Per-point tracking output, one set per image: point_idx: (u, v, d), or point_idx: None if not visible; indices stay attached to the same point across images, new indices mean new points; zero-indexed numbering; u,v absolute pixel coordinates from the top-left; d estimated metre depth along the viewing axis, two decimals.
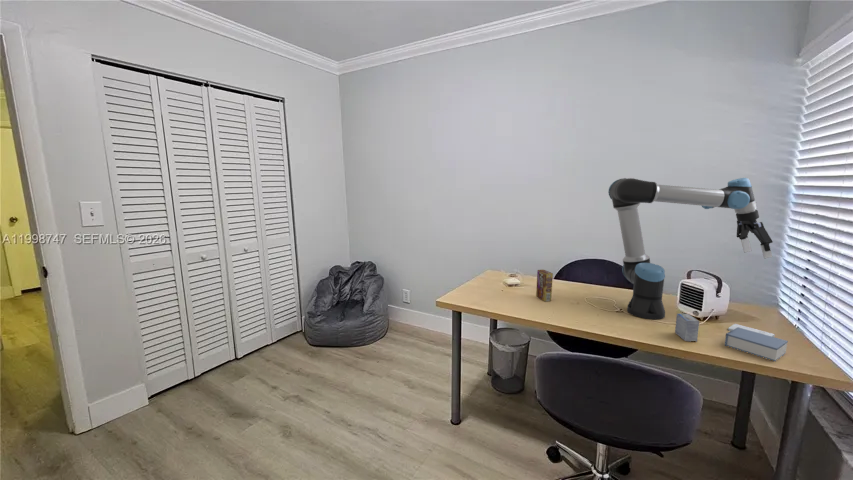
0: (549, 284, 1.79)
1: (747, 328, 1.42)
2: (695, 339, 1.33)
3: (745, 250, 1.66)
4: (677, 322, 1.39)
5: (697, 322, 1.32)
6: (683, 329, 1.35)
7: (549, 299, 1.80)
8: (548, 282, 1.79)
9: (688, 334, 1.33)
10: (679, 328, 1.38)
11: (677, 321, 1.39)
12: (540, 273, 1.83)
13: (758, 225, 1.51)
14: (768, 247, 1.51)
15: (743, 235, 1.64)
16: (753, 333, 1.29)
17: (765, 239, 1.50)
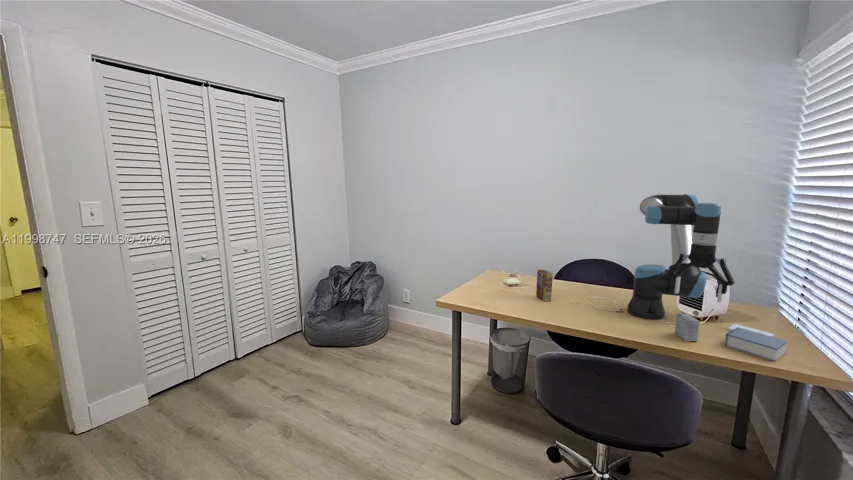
0: (549, 284, 1.79)
1: (747, 328, 1.42)
2: (695, 339, 1.33)
3: None
4: (677, 322, 1.39)
5: (697, 322, 1.32)
6: (683, 329, 1.35)
7: (549, 299, 1.80)
8: (548, 282, 1.79)
9: (688, 334, 1.33)
10: (679, 328, 1.38)
11: (677, 321, 1.39)
12: (540, 273, 1.83)
13: None
14: None
15: None
16: (753, 333, 1.29)
17: None
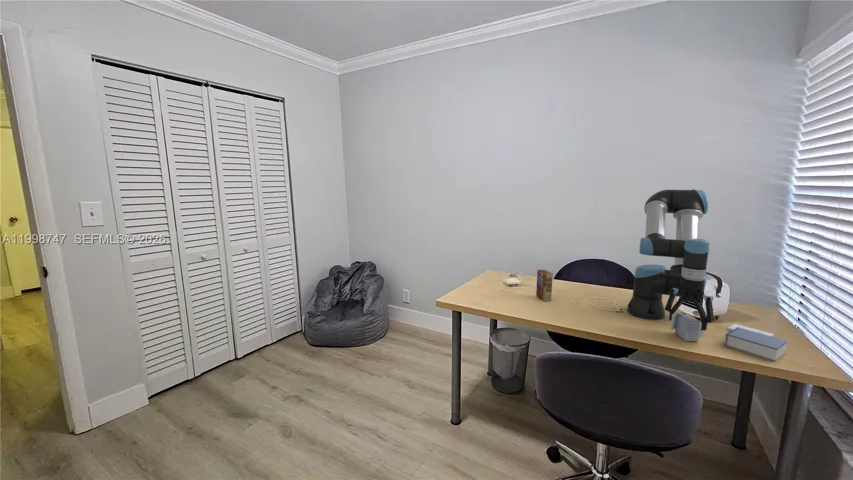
0: (549, 284, 1.79)
1: (747, 328, 1.42)
2: (695, 339, 1.33)
3: None
4: (677, 322, 1.39)
5: (697, 322, 1.32)
6: (683, 328, 1.35)
7: (549, 299, 1.80)
8: (548, 282, 1.79)
9: (688, 334, 1.33)
10: (679, 328, 1.38)
11: (677, 321, 1.39)
12: (540, 273, 1.83)
13: None
14: None
15: None
16: (753, 333, 1.29)
17: None
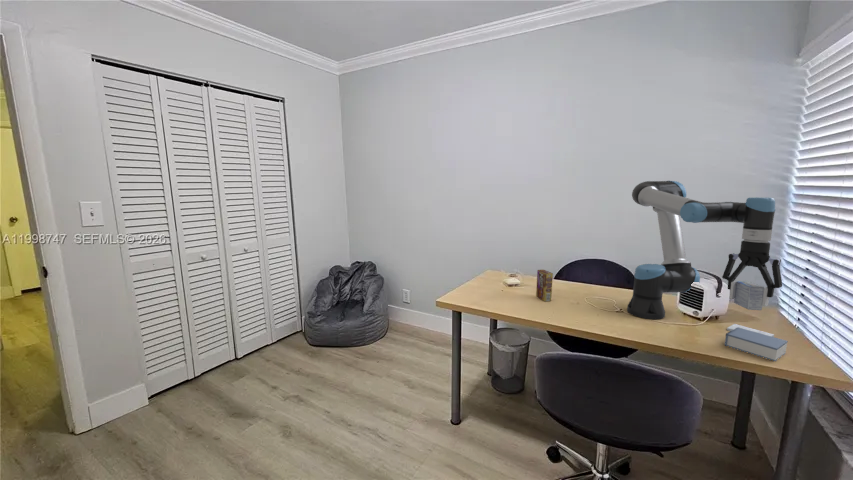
0: (549, 284, 1.79)
1: (746, 328, 1.42)
2: (759, 307, 1.21)
3: None
4: (737, 290, 1.28)
5: (762, 288, 1.20)
6: (745, 296, 1.23)
7: (549, 299, 1.80)
8: (548, 282, 1.79)
9: (751, 302, 1.21)
10: (739, 297, 1.26)
11: (737, 289, 1.28)
12: (540, 273, 1.83)
13: None
14: None
15: None
16: (753, 333, 1.29)
17: None
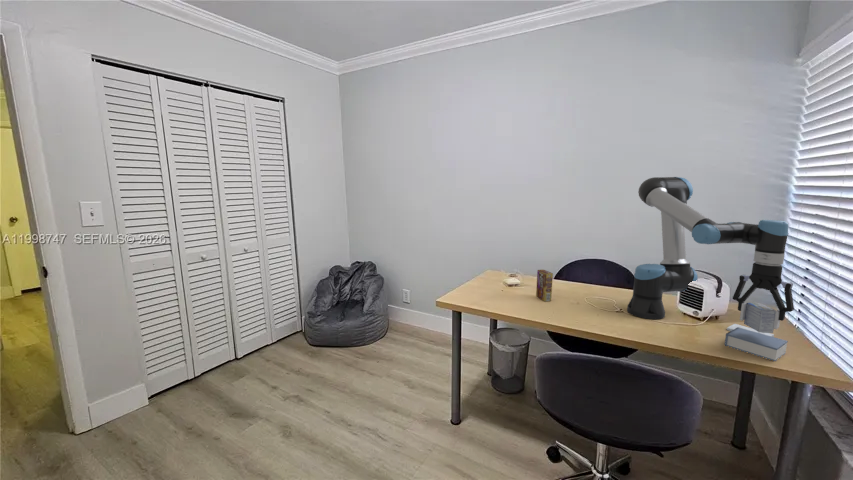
0: (549, 284, 1.79)
1: (746, 328, 1.42)
2: (771, 330, 1.21)
3: None
4: (747, 312, 1.27)
5: (774, 311, 1.20)
6: (756, 319, 1.23)
7: (549, 299, 1.80)
8: (548, 282, 1.79)
9: (763, 325, 1.21)
10: (750, 319, 1.26)
11: (747, 311, 1.27)
12: (540, 273, 1.83)
13: None
14: None
15: None
16: (753, 333, 1.29)
17: None
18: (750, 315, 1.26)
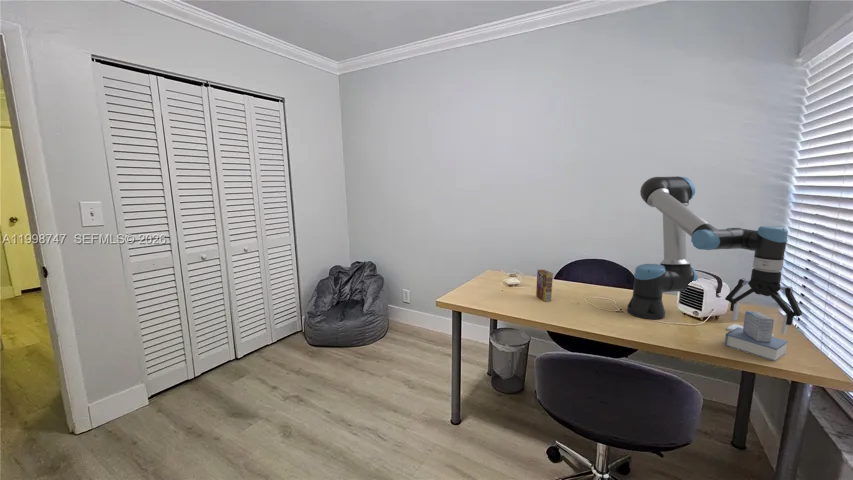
0: (549, 284, 1.79)
1: None
2: (769, 339, 1.22)
3: None
4: (746, 320, 1.28)
5: (771, 320, 1.21)
6: (754, 327, 1.24)
7: (549, 299, 1.80)
8: (548, 282, 1.79)
9: (760, 334, 1.22)
10: (748, 327, 1.27)
11: (746, 319, 1.28)
12: (540, 273, 1.83)
13: None
14: None
15: None
16: None
17: None
18: (748, 324, 1.27)
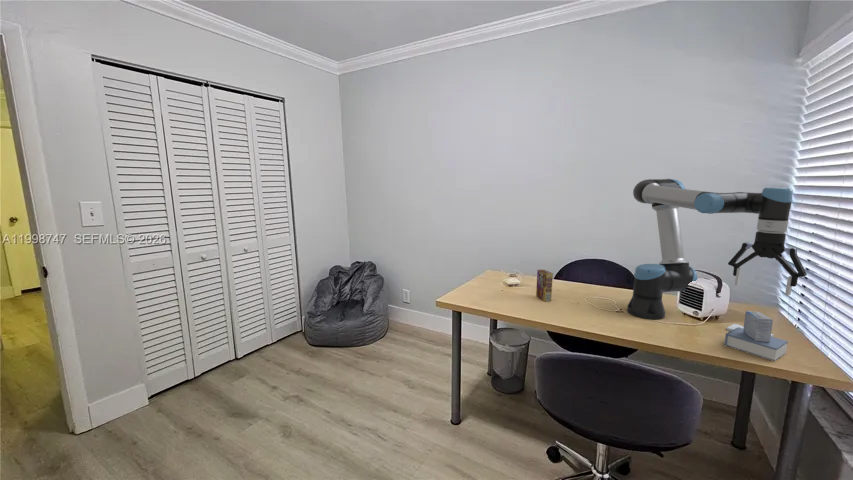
0: (549, 284, 1.79)
1: None
2: (768, 339, 1.22)
3: None
4: (746, 320, 1.28)
5: (770, 321, 1.21)
6: (753, 327, 1.24)
7: (549, 299, 1.80)
8: (548, 282, 1.79)
9: (759, 334, 1.22)
10: (748, 327, 1.27)
11: (746, 319, 1.28)
12: (540, 273, 1.83)
13: None
14: None
15: None
16: None
17: None
18: (748, 324, 1.27)
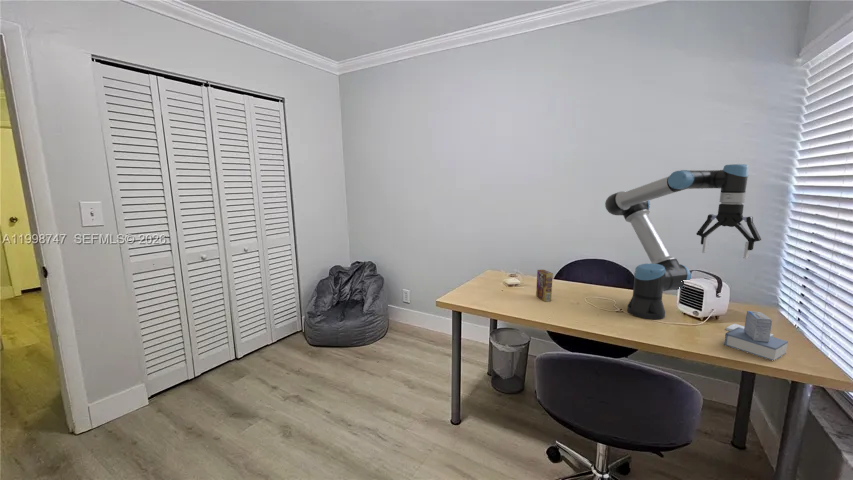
0: (549, 284, 1.79)
1: None
2: (767, 339, 1.22)
3: None
4: (747, 320, 1.28)
5: (770, 321, 1.21)
6: (752, 327, 1.24)
7: (549, 299, 1.80)
8: (548, 282, 1.79)
9: (758, 333, 1.22)
10: (748, 327, 1.27)
11: (747, 319, 1.28)
12: (540, 273, 1.83)
13: None
14: None
15: None
16: None
17: None
18: (748, 323, 1.27)
